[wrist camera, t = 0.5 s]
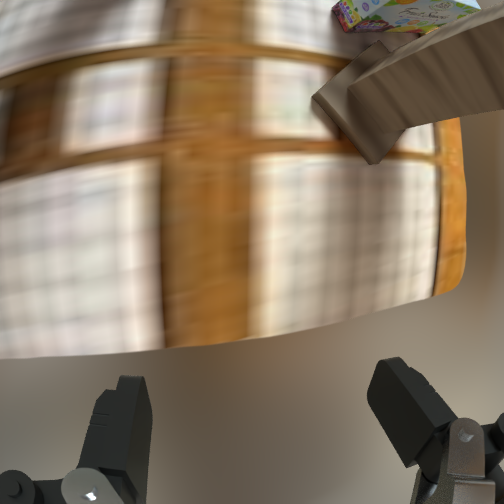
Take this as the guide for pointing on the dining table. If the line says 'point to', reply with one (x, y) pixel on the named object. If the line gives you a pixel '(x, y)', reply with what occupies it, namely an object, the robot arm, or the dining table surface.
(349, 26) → the snack box
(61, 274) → the dining table surface
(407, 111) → the stand
